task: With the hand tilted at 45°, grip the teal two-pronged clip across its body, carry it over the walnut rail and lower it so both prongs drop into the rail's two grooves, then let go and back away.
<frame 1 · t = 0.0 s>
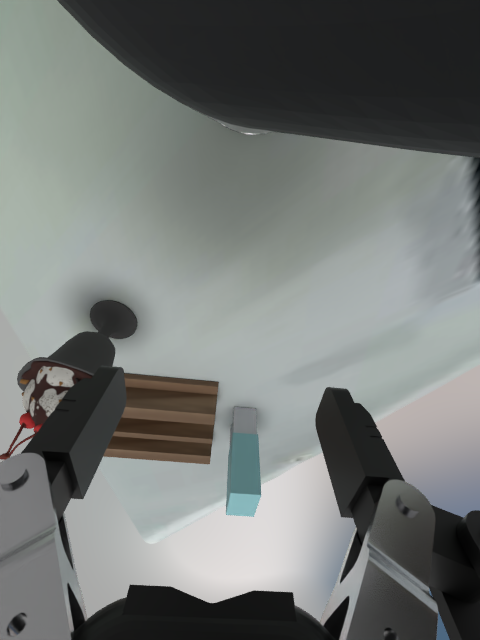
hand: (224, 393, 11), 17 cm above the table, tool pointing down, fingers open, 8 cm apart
sundae: (114, 319, 30), on the table
rail: (157, 411, 38), on the table
clip: (242, 419, 39), on the table
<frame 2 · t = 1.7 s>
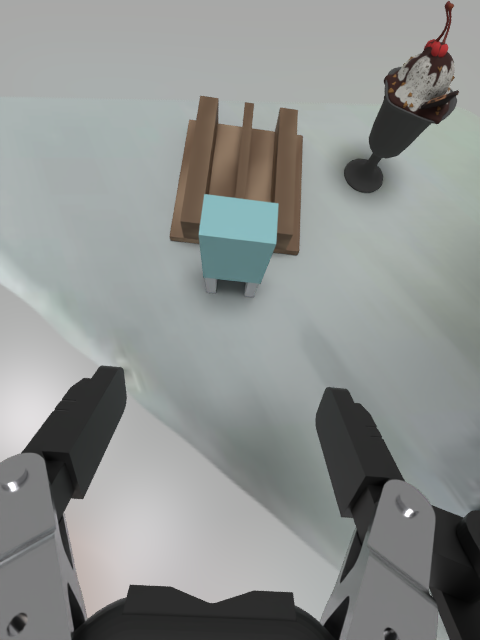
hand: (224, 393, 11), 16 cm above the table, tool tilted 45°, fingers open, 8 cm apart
sundae: (362, 177, 35), on the table
rail: (240, 187, 32), on the table
clip: (231, 281, 29), on the table
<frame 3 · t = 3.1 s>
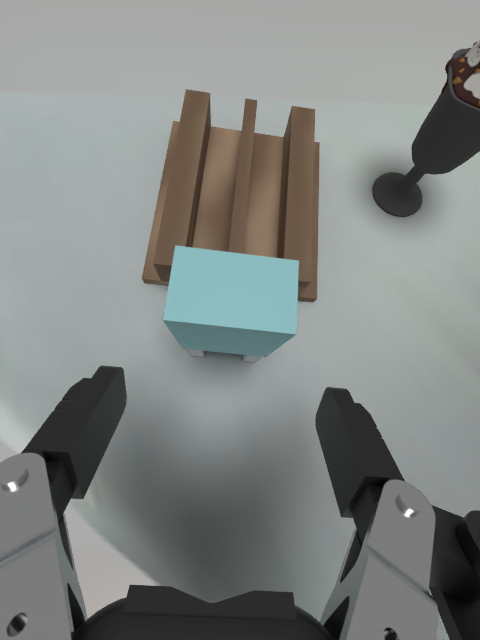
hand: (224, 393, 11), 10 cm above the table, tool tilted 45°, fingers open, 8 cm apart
sundae: (395, 196, 27), on the table
rail: (239, 209, 25), on the table
clip: (225, 339, 22), on the table
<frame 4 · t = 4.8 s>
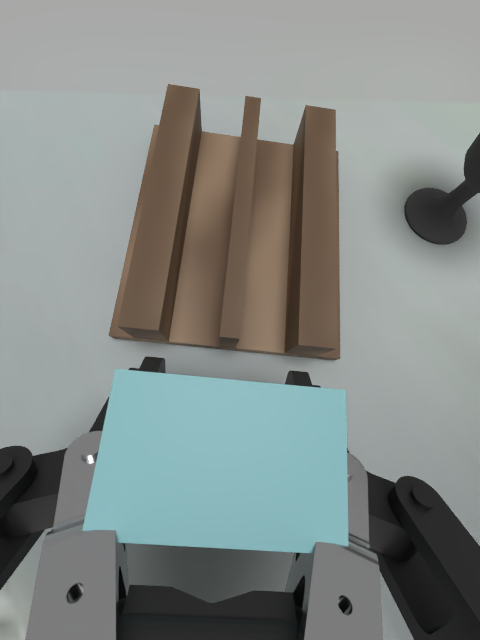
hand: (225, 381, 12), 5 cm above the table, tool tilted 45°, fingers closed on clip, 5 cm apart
sundae: (432, 217, 22), on the table
rail: (237, 237, 20), on the table
clip: (219, 416, 16), on the table, touching gripper
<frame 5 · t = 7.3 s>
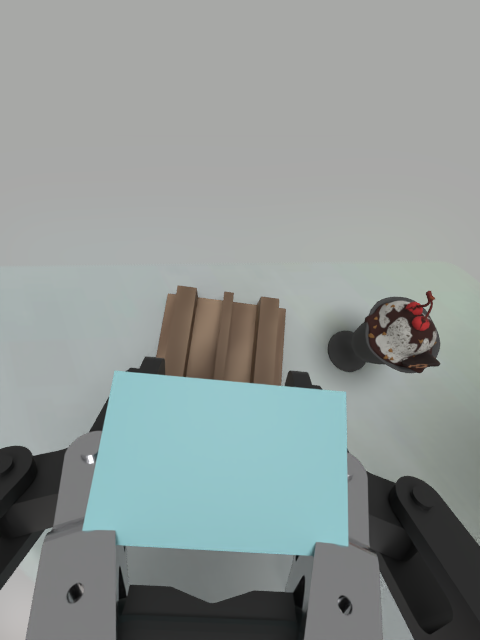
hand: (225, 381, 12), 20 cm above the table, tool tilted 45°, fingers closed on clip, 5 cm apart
sundae: (346, 351, 33), on the table
rail: (219, 370, 31), on the table
clip: (219, 416, 16), point 14 cm above the table, touching gripper
when the fingers open (7 cm above the table, at t = 9.9 s): clip stays where it is, resting on rail.
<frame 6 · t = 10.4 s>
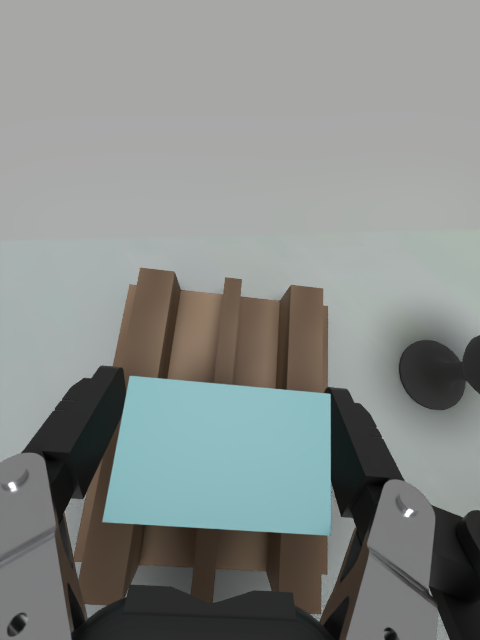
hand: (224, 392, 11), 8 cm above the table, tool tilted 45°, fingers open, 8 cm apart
sundae: (428, 373, 20), on the table
rail: (218, 414, 18), on the table
clip: (219, 416, 17), point 1 cm above the table, touching rail
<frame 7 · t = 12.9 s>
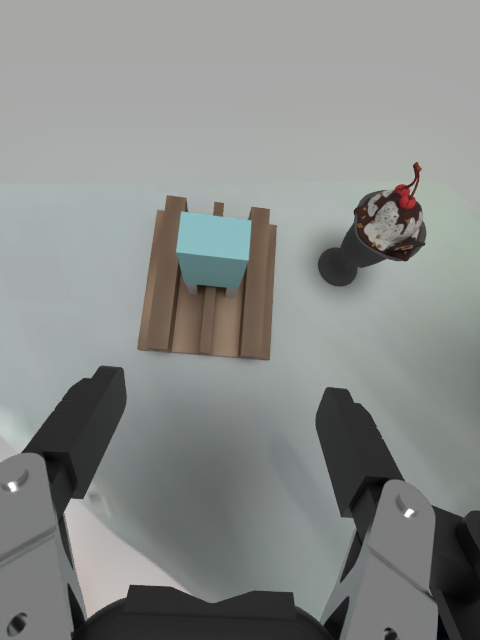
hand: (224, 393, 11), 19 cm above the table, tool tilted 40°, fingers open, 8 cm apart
sundae: (336, 267, 34), on the table
rail: (211, 284, 32), on the table
clip: (212, 283, 31), point 1 cm above the table, touching rail
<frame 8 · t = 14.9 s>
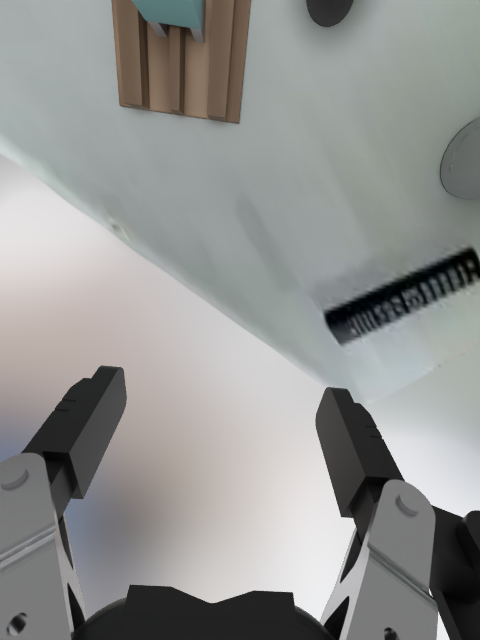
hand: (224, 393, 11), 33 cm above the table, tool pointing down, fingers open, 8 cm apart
rail: (182, 22, 29), on the table
clip: (181, 20, 29), point 1 cm above the table, touching rail
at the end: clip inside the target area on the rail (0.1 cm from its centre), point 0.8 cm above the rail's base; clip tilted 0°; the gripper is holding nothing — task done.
